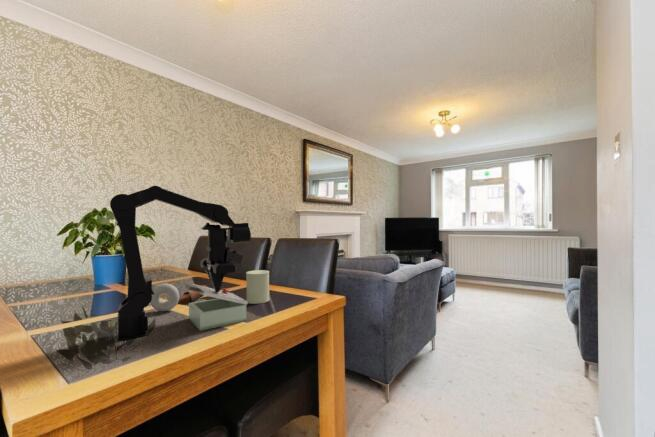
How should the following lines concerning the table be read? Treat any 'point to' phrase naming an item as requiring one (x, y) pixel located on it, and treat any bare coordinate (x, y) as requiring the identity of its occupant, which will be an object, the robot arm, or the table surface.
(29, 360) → the table surface
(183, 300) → the sunglasses case
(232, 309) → the shallow mint tray
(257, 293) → the can
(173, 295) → the donut
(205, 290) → the lid
